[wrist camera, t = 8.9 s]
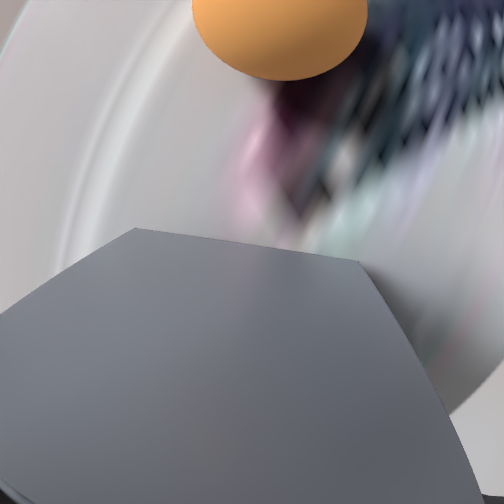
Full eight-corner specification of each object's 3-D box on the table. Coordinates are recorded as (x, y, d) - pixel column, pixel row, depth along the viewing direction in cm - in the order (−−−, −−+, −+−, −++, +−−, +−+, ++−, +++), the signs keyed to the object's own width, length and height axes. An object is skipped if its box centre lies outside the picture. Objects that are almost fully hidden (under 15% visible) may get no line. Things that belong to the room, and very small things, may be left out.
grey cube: (307, 415, 12) (309, 593, 4) (145, 386, 12) (67, 539, 4) (358, 261, 9) (491, 527, 1) (134, 227, 10) (-85, 386, 1)
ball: (364, -45, 5) (343, 63, 9) (220, -61, 5) (219, 46, 10) (402, -48, 3) (355, 127, 7) (157, -67, 3) (171, 101, 7)
